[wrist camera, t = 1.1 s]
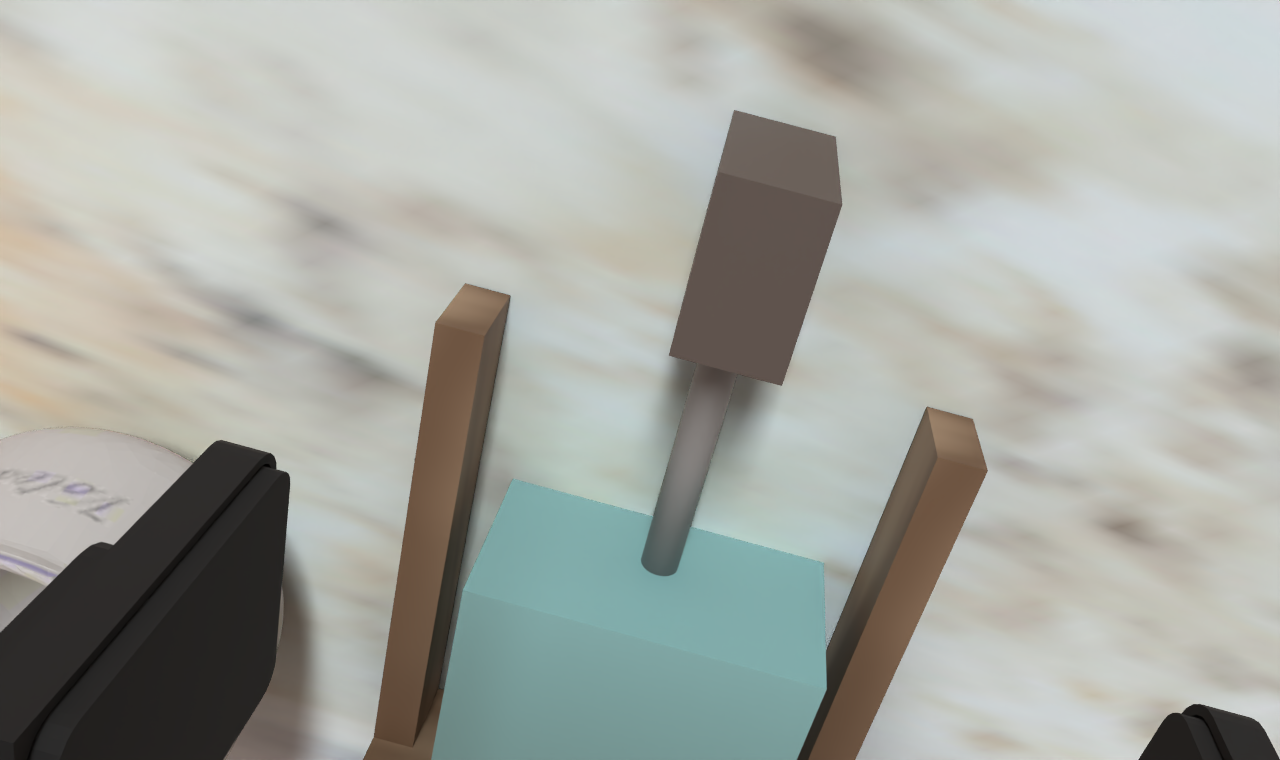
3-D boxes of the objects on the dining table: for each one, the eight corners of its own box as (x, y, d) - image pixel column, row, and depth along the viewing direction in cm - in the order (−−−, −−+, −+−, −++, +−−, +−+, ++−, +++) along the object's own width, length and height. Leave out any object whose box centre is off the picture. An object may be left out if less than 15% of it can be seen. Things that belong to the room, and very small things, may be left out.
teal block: (976, 173, 24) (1013, 249, 20) (755, 736, 33) (747, 874, 29) (595, 73, 25) (549, 127, 20) (476, 659, 33) (426, 786, 29)
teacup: (205, 333, 29) (14, 492, 22) (394, 633, 33) (283, 849, 26) (-150, 470, 33) (-408, 642, 26) (56, 723, 37) (-118, 930, 30)
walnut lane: (972, 418, 27) (994, 494, 24) (798, 815, 34) (798, 912, 31) (465, 283, 27) (422, 340, 24) (397, 705, 34) (357, 790, 31)
